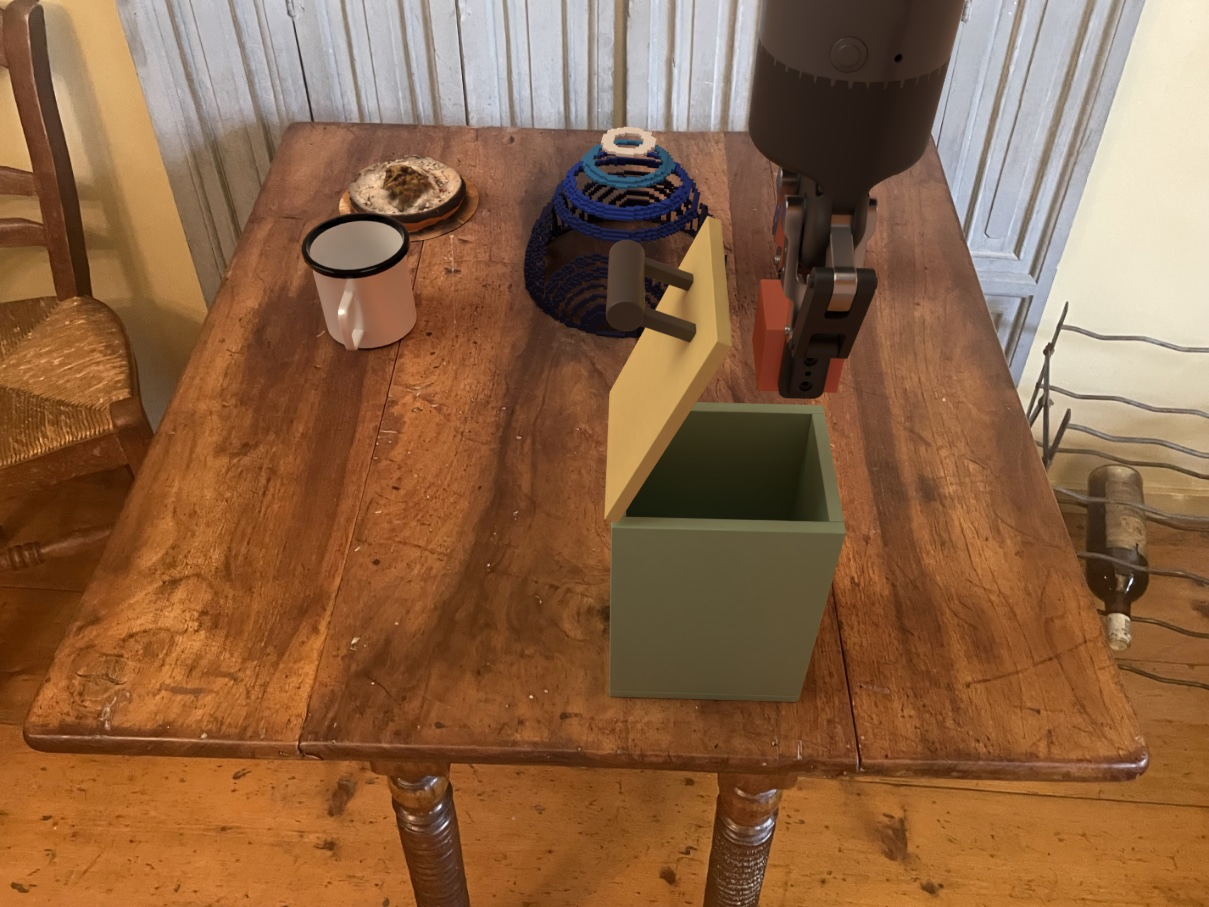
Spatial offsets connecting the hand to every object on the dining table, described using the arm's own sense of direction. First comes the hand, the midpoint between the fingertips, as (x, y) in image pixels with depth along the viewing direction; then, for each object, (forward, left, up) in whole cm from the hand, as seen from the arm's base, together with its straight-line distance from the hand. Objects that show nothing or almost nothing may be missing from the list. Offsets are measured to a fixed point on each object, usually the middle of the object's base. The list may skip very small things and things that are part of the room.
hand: (794, 362), depth 51 cm
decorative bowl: (+37, -22, -26) cm, 50 cm away
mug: (+46, +2, -26) cm, 53 cm away
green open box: (+2, +2, -25) cm, 26 cm away
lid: (+4, +5, -1) cm, 7 cm away
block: (0, 0, 0) cm, 0 cm away
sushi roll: (+62, -13, -26) cm, 69 cm away
